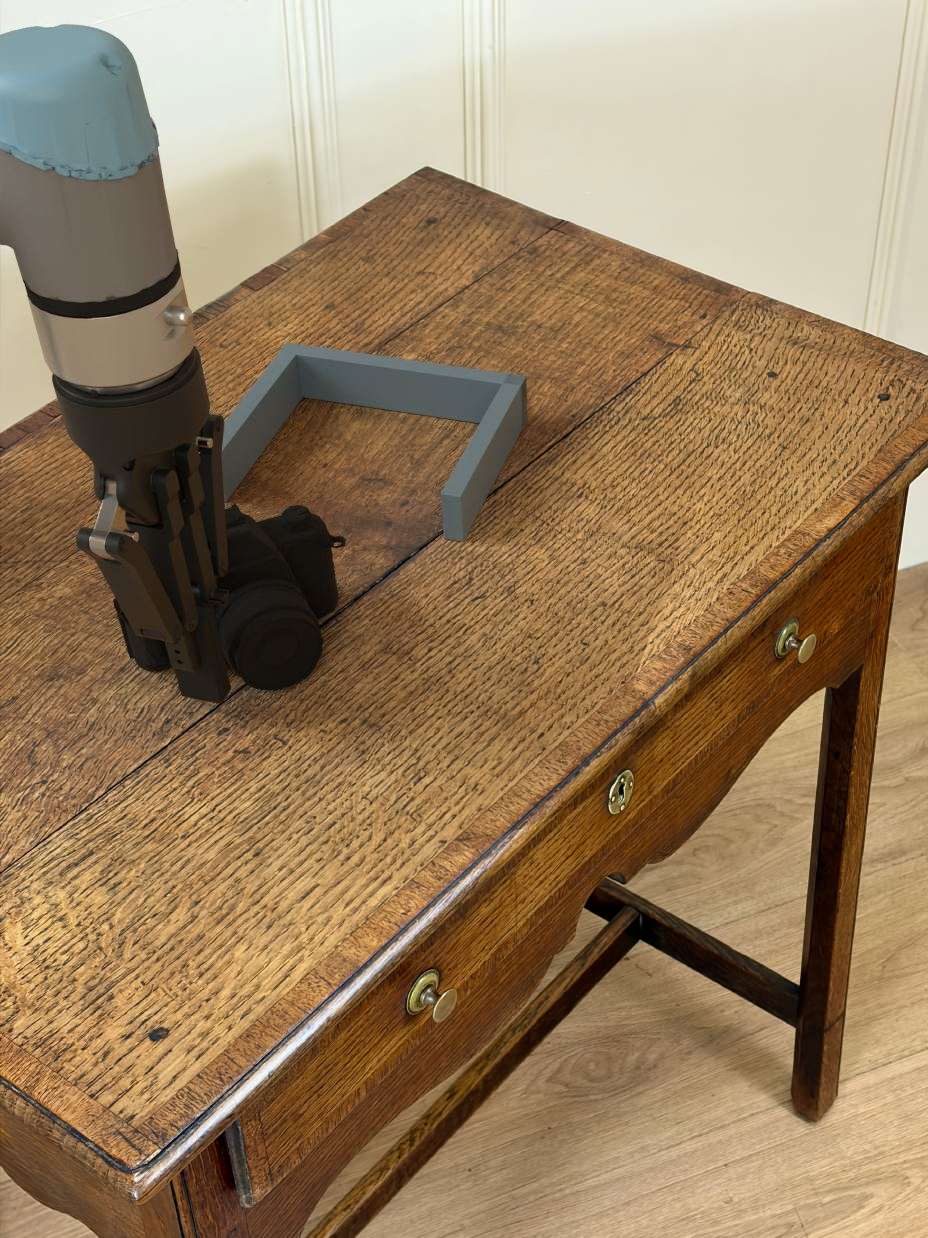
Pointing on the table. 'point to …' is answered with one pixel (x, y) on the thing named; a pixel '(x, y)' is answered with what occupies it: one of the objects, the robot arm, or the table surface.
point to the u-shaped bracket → (390, 388)
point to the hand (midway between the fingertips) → (206, 692)
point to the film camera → (265, 599)
